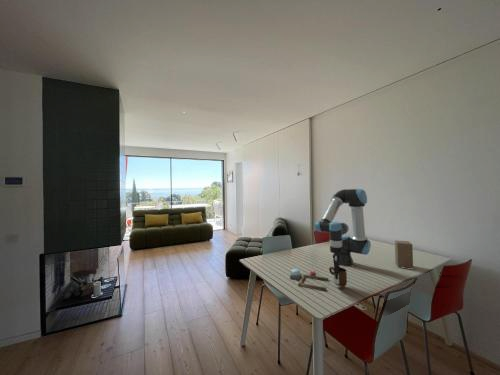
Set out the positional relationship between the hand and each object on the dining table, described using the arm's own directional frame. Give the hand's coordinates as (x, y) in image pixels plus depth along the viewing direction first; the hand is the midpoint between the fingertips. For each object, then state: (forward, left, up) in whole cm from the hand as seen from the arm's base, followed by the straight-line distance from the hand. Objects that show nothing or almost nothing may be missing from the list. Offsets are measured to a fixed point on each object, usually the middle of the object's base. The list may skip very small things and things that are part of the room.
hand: (337, 280), depth 133 cm
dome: (-4, -28, -2) cm, 28 cm away
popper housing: (-4, -28, -4) cm, 29 cm away
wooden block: (-60, +48, -4) cm, 77 cm away
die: (-11, -17, -4) cm, 21 cm away
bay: (0, -14, -4) cm, 15 cm away
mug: (-1, 0, -2) cm, 2 cm away
